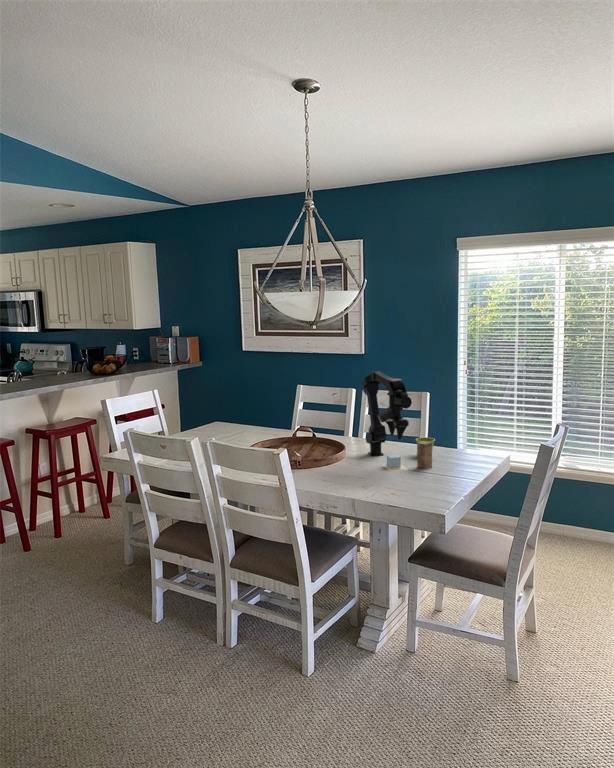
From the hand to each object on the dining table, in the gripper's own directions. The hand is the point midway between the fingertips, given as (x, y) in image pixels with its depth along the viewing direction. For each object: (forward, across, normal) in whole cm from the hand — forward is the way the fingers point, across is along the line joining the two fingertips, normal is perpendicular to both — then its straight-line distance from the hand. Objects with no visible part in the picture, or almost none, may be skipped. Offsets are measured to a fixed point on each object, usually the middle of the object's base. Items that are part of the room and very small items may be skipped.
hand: (395, 437), depth 283 cm
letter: (+13, +6, -3) cm, 15 cm away
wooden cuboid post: (+13, +11, +10) cm, 20 cm away
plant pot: (+13, -8, +19) cm, 24 cm away
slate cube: (+13, +5, -3) cm, 14 cm away
